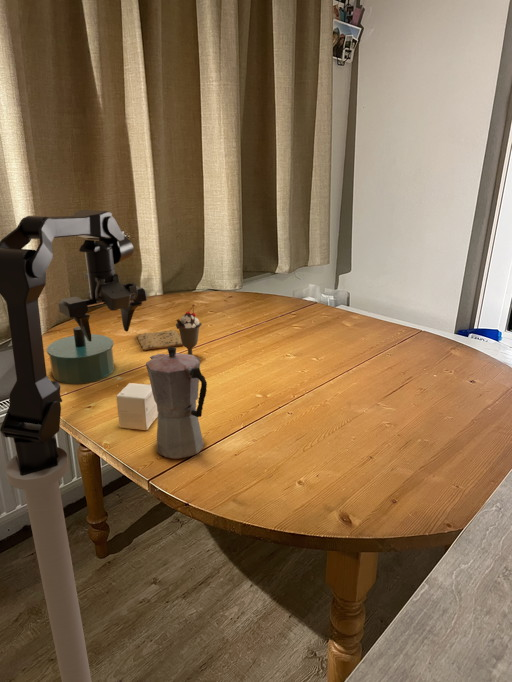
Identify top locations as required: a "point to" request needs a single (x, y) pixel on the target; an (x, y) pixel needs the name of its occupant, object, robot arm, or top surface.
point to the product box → (136, 407)
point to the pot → (82, 368)
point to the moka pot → (177, 402)
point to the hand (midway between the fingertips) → (108, 335)
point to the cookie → (159, 339)
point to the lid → (79, 346)
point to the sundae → (189, 330)
